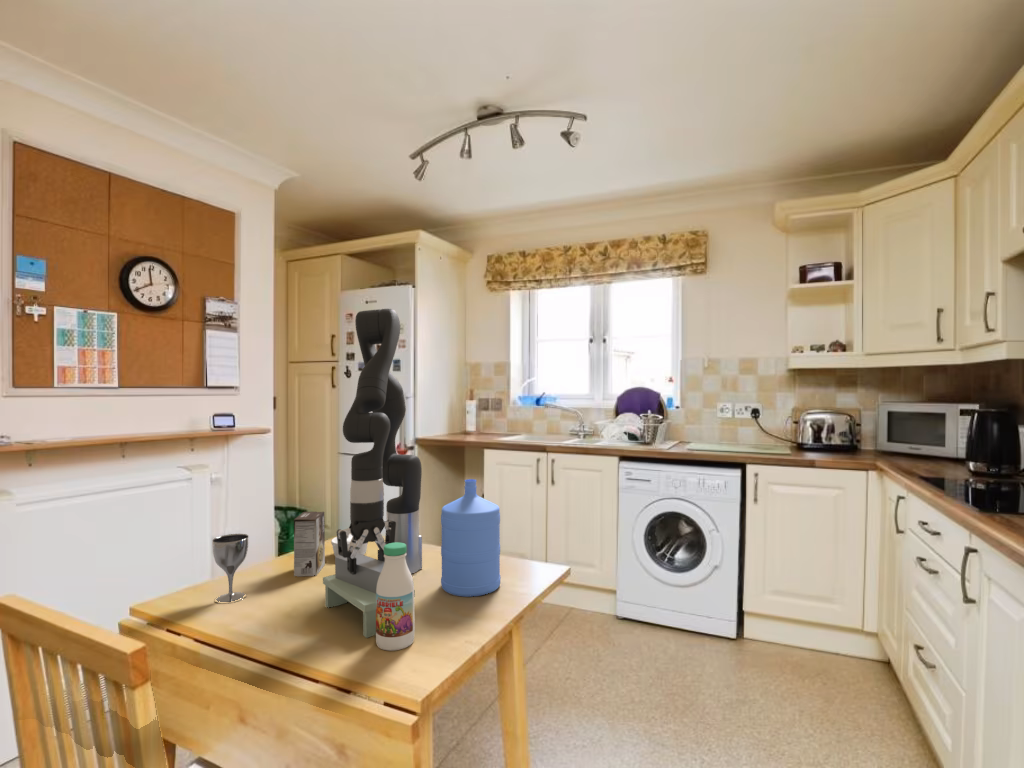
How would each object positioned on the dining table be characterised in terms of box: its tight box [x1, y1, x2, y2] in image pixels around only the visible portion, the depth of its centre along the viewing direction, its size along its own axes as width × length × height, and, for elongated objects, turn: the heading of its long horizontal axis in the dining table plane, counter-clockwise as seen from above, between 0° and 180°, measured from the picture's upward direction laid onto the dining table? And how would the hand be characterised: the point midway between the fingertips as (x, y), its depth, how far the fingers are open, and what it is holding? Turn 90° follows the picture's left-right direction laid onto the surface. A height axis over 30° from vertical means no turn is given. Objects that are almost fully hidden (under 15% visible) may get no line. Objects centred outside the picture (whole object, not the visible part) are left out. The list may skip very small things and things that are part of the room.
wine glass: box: [211, 533, 249, 602], centre depth 129 cm, size 8×8×15 cm
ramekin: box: [330, 533, 369, 557], centre depth 162 cm, size 11×11×5 cm
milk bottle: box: [375, 542, 415, 652], centre depth 106 cm, size 8×8×20 cm
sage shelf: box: [322, 573, 416, 639], centre depth 119 cm, size 12×22×7 cm, turn 42°
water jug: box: [440, 478, 502, 598], centre depth 136 cm, size 16×16×28 cm
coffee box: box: [293, 511, 326, 577], centre depth 148 cm, size 9×6×16 cm
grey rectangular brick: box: [334, 553, 384, 594], centre depth 119 cm, size 5×18×5 cm, turn 52°
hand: (367, 569), depth 119 cm, fingers open, 6 cm apart
